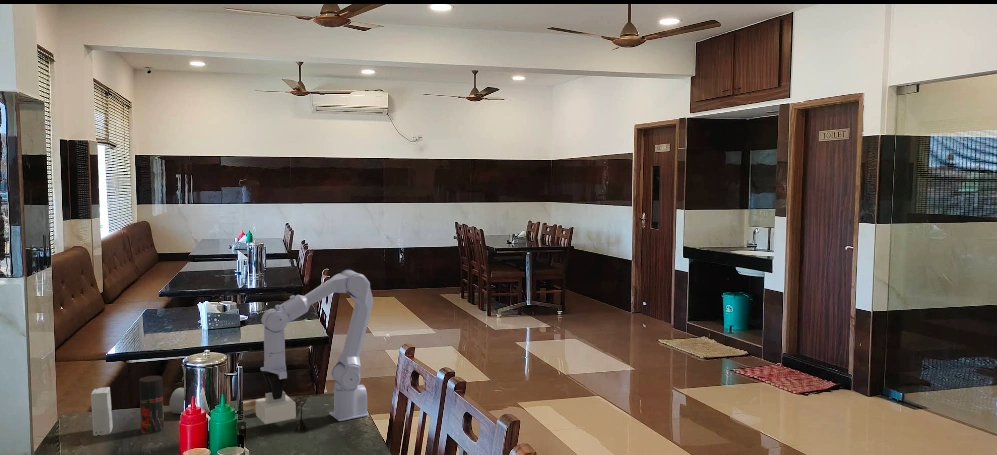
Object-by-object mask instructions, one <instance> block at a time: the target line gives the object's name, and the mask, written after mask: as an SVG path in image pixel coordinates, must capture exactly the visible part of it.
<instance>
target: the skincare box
mask: <svg viewBox="0 0 997 455" xmlns="http://www.w3.org/2000/svg"><path fill="white" fill-rule="evenodd" d="M90 404H91V406H90V407H91V422H92V436H95V437H98V436H97V435H100V436H106V435H110V434H111V432H112V431H113V425H114V424H113V412H112V397H111V387H110V386H107V387H106V386H105V387H97V388H94V389H93V390H92V391H91V394H90Z"/></svg>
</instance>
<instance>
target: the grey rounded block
mask: <svg viewBox="0 0 997 455" xmlns="http://www.w3.org/2000/svg"><path fill="white" fill-rule="evenodd" d="M184 388H185V387H178V388H176V389H175V390H174V391H173V392H172V394H171V396H170V397H169V404H168V405H169V409H170V411H171V412H172V413H173V414H175V415H176V414H178V415H182V414H181V412H183V410H184V408H183V405H184Z"/></svg>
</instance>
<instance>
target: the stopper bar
mask: <svg viewBox="0 0 997 455" xmlns="http://www.w3.org/2000/svg"><path fill="white" fill-rule="evenodd" d="M263 398H264V397H262V398H260V399H263ZM258 399H259V398H256V399H251V400H245V401H242V402H243V410H244V411H243V412H246V411H251V410H254V407H255V404H256V400H258Z"/></svg>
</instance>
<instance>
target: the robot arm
mask: <svg viewBox="0 0 997 455" xmlns="http://www.w3.org/2000/svg"><path fill="white" fill-rule="evenodd" d="M334 293H338V294H348V295H349V296H350V298H351V299H352V301H353V302H354V305H353V308H352V310H353V311H352V314H351V317H350V318H351V319H350V321H349V327H348V330H347V333H346V338H345V341H344V345H343V350H342V353H341V354H340V355H339V356H338V358H337V361H336V363H335V365H334V366H333V367H332V369H331V378H332V379H333V380H334V381H335V382H334V386H333V398H334V399H333V406H334V407H333V410H334V411H331V412H329V416H331V417H333V419H335V420H337V421H338V422H343V421H348V420H352V419H358V418H363V417H368V416H369V414H368V393H367V388H366V387H365V385H364V384H360V383H361V378H362V377H361V367H362V365H361V360H360V358H361V357H360V356H361V352H362V348H363V345H364V341H365V337H366V332H367V328H368V325H369V321H370V317H371V313H372V309H373V305H374V297H373V294H372V289H371V282H370V281H369V280H368V278H367V277H366V275H364V274H362V273H359V272H356V271H354V270H352V269H345V270H342V271H341V272H340V273H337V274H334V275H333V276H332V277H331V278H329V279H328V280H326V281H325V282H323V283H321V284H320V285H318V286H317V287H315V288H314V289H313V290H312V289H311V291H309V292H308V293H306V294H305V295H300V294H296V295H294V294H292V295H290V296H289V299H288V300H286V301H284V302H283V303H281V304H276V305H274V308H269V309H266V311H265V312H263V314H262V316H261V318H260V321H261V324H262V325H263V330H264V331H263V333H264V334H263V350H264V351H263V352H264V353H263V356H264V359H263V360H264V361H263V366H261V367H260V371H261V372H262V374H261V375H262V376H263V377H264V380H265V383H266V385H267V390H268V393H271V392H272V396H273V399H274V400H276V399H281V397H282V393H283V391H284V388H285V386H286V382H287V380H288V379H289V374H288V373H287V365H286V343H285V342H286V338H285V336H286V335H285V328H286V327H287V325H288V324H289V323H291V322H293V321H294V320H296V319H298V318H299V317H301V316H303V315H305V314H306V313H308V312H309V309H310V307H311V305H313V304H315V303H317V302H319V301H321V300H324V298H326V297H327V298H328V296H330V295H333V294H334Z"/></svg>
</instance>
